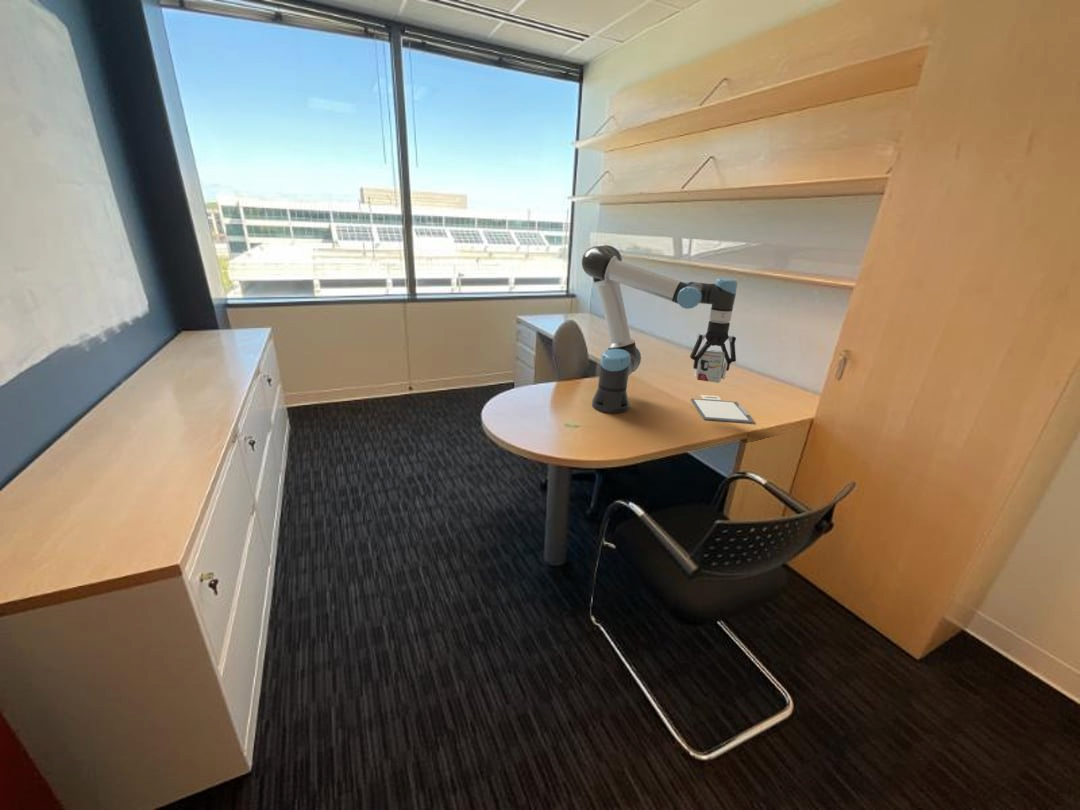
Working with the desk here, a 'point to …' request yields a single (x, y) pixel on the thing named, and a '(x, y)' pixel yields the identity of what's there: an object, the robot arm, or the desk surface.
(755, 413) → the desk surface
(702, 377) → the ink box
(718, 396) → the word card
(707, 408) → the whiteboard
